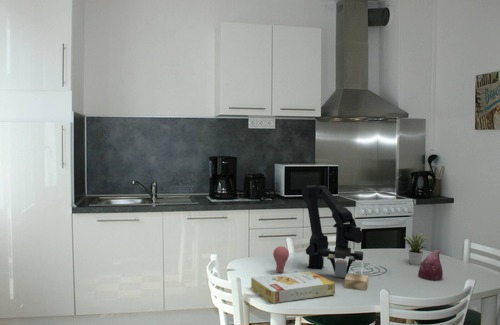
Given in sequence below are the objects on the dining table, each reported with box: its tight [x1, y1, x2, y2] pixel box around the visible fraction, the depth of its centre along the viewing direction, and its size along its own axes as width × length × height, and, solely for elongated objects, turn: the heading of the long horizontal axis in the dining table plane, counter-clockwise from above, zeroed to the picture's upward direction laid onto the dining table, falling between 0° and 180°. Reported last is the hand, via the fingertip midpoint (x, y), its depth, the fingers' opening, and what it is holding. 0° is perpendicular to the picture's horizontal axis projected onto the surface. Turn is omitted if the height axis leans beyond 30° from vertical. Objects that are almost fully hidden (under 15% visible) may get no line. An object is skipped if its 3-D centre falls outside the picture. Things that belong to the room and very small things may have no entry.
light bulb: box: [272, 245, 290, 273], centre depth 221 cm, size 7×7×12 cm
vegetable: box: [417, 248, 444, 282], centre depth 220 cm, size 10×10×15 cm
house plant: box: [404, 232, 432, 266], centre depth 244 cm, size 14×14×16 cm
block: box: [343, 272, 369, 291], centre depth 205 cm, size 9×9×4 cm
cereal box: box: [250, 270, 336, 304], centre depth 195 cm, size 20×6×28 cm
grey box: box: [334, 259, 348, 279], centre depth 217 cm, size 5×5×7 cm
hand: (340, 273), depth 217 cm, fingers closed on grey box, 5 cm apart
